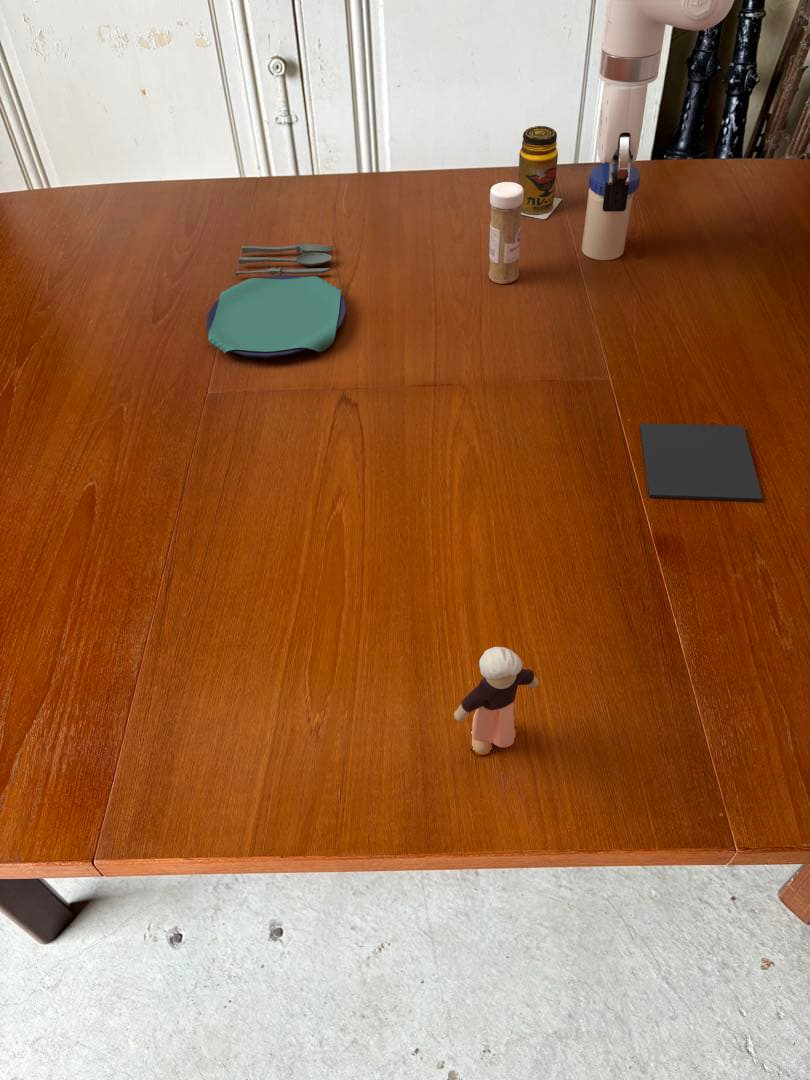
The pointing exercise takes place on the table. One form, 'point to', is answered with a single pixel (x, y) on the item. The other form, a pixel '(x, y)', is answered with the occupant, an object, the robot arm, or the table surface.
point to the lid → (601, 177)
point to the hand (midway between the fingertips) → (612, 196)
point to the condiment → (538, 171)
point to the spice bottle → (505, 231)
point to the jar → (604, 229)
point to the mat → (699, 462)
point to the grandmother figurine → (495, 699)
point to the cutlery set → (278, 307)
